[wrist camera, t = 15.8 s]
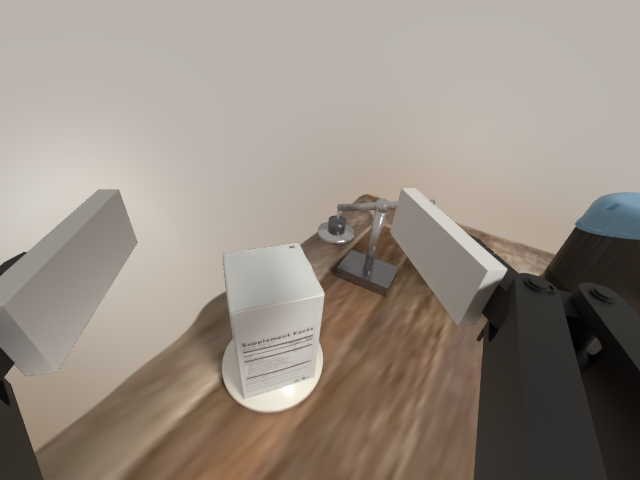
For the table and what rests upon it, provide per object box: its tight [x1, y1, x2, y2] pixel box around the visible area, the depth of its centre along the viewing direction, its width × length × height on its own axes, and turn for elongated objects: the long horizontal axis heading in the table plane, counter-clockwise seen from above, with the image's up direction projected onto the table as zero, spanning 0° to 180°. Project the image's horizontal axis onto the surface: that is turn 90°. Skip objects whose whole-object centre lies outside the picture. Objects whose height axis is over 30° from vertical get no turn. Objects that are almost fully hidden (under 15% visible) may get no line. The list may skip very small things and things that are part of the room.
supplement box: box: [223, 243, 324, 399], centre depth 32 cm, size 9×9×15 cm
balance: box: [317, 199, 435, 297], centre depth 48 cm, size 22×7×18 cm, turn 61°
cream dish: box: [222, 339, 323, 414], centre depth 37 cm, size 13×13×1 cm
